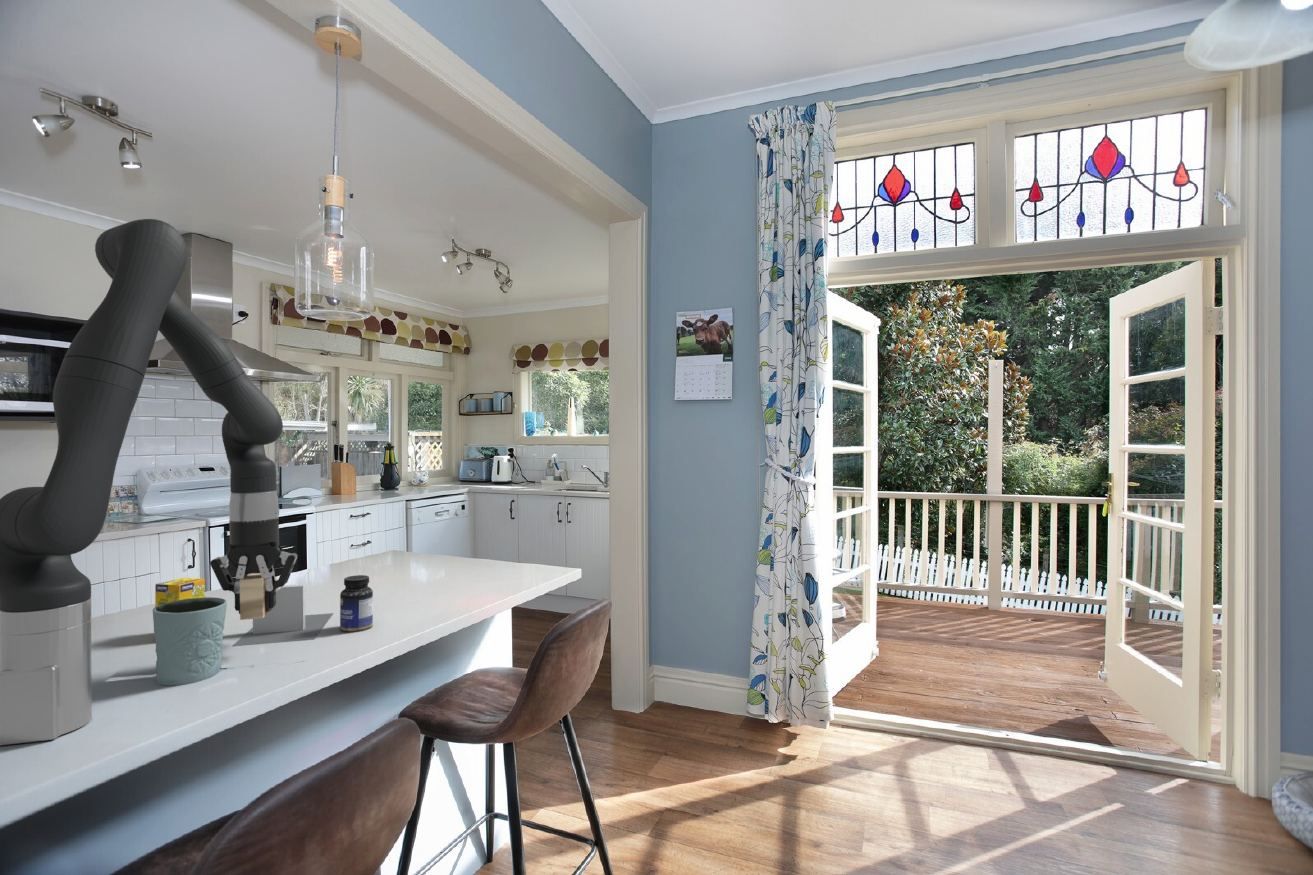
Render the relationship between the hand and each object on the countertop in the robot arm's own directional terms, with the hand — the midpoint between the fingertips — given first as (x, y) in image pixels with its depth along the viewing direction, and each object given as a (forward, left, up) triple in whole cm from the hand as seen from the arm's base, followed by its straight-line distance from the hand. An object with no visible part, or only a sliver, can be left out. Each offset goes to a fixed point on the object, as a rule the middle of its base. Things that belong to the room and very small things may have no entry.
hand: (256, 611), depth 116 cm
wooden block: (+4, 0, -1) cm, 4 cm away
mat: (+17, -1, -9) cm, 19 cm away
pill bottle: (+13, -15, -9) cm, 21 cm away
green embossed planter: (-6, +8, -9) cm, 13 cm away
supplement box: (+20, +19, -9) cm, 29 cm away
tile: (+15, 0, -8) cm, 17 cm away
